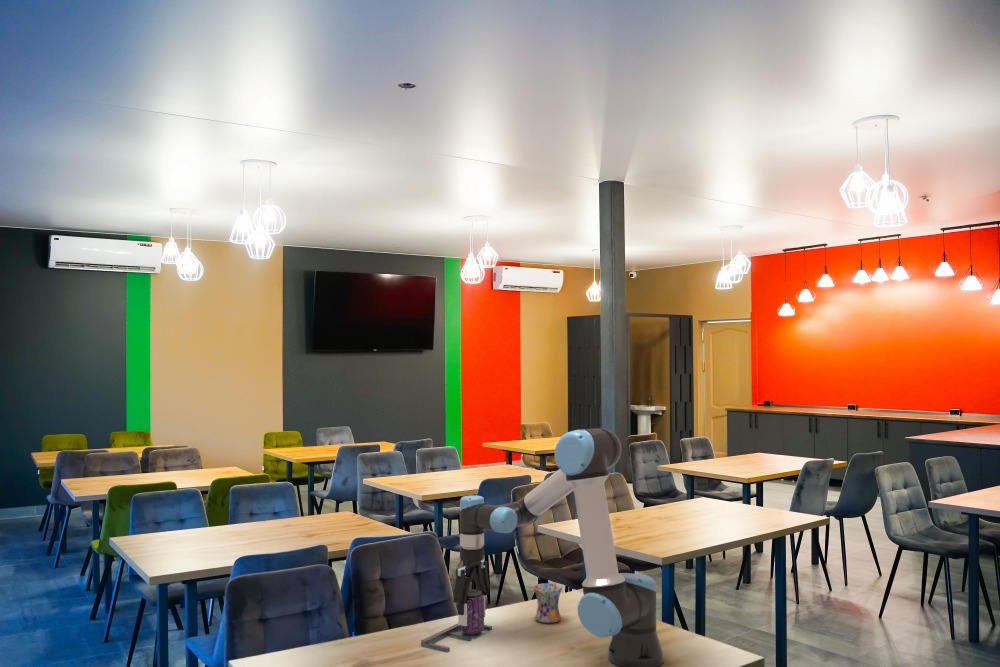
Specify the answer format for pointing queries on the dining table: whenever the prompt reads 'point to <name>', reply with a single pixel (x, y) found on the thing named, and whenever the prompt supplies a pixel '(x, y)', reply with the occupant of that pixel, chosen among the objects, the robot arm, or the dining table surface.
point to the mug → (547, 602)
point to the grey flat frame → (451, 633)
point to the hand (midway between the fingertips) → (472, 620)
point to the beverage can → (474, 612)
